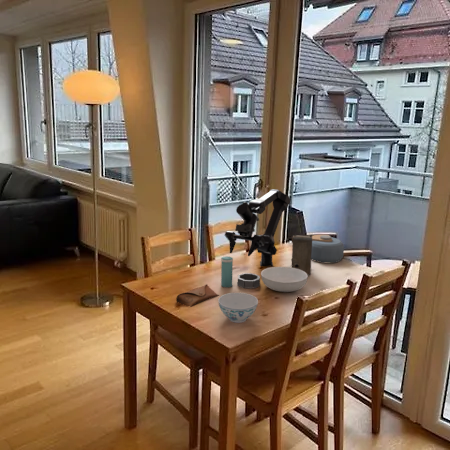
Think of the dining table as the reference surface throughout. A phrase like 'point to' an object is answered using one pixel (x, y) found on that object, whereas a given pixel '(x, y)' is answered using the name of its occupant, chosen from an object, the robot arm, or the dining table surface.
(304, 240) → the vintage camera
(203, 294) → the sunglasses case
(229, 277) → the teal peg
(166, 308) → the dining table surface
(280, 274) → the serving bowl
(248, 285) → the socket ring
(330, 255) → the grey squat cylinder
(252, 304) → the chinaware
